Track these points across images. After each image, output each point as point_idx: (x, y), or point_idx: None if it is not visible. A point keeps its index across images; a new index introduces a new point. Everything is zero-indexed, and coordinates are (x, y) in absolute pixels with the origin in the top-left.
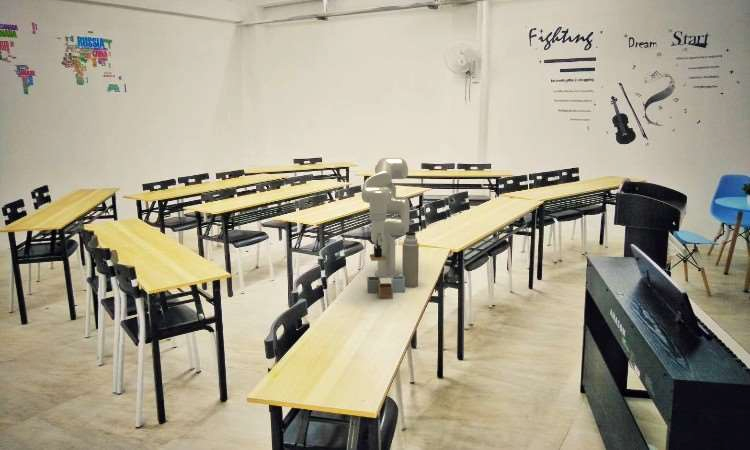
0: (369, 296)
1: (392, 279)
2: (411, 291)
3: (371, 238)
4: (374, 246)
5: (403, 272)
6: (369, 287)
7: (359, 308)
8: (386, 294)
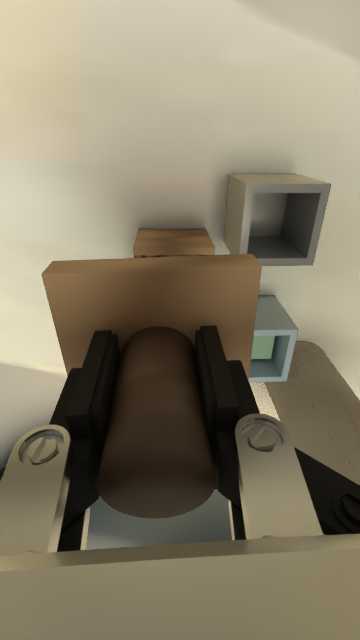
0: (197, 180)
1: None
2: None
3: (290, 586)
4: (220, 412)
5: (313, 389)
6: (235, 188)
7: (10, 103)
8: None
